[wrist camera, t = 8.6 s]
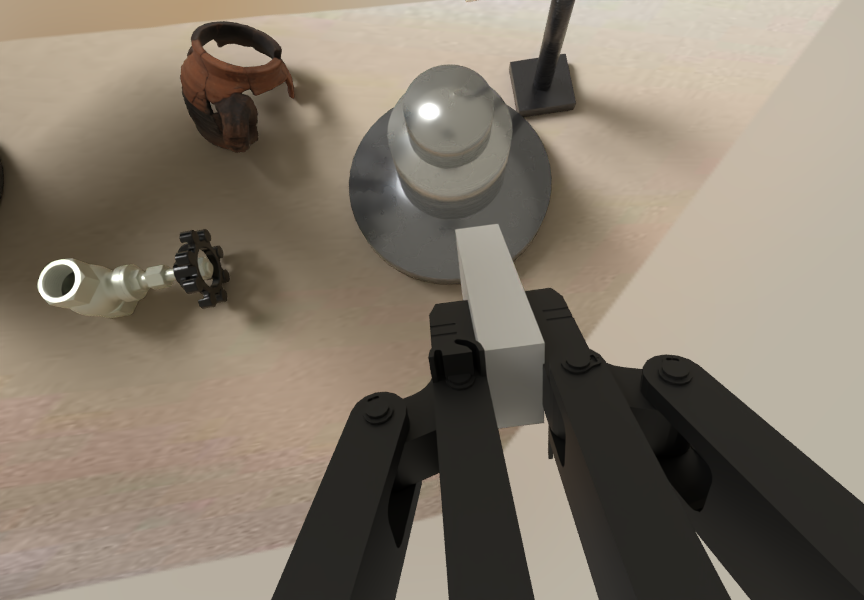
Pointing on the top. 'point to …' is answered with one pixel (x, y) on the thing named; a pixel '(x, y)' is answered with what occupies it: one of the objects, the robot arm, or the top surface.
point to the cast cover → (450, 142)
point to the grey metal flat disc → (434, 237)
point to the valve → (134, 280)
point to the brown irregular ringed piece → (229, 84)
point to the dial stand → (545, 69)
